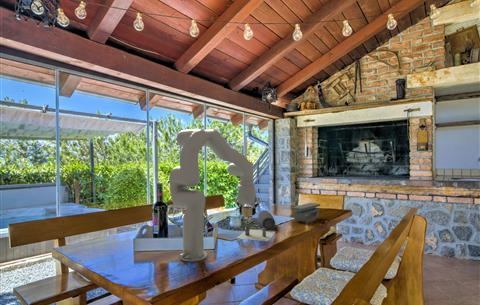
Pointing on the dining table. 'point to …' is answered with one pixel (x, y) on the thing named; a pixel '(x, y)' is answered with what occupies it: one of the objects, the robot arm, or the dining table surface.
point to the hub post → (247, 230)
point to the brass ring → (246, 211)
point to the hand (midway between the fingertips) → (247, 214)
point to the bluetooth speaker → (266, 220)
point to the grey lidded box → (306, 212)
